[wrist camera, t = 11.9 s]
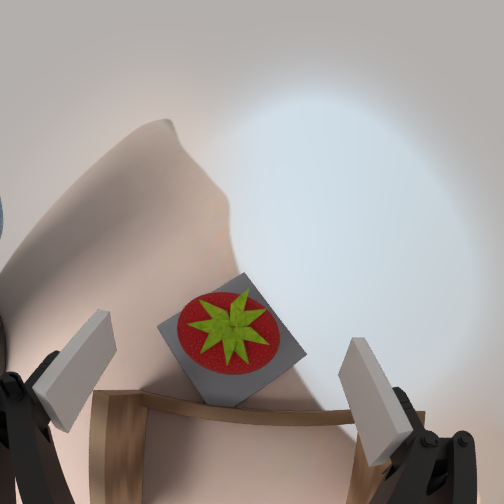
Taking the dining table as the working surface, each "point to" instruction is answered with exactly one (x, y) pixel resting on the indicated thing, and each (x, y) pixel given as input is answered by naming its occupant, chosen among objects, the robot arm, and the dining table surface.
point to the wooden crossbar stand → (137, 403)
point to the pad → (234, 386)
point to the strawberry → (228, 333)
